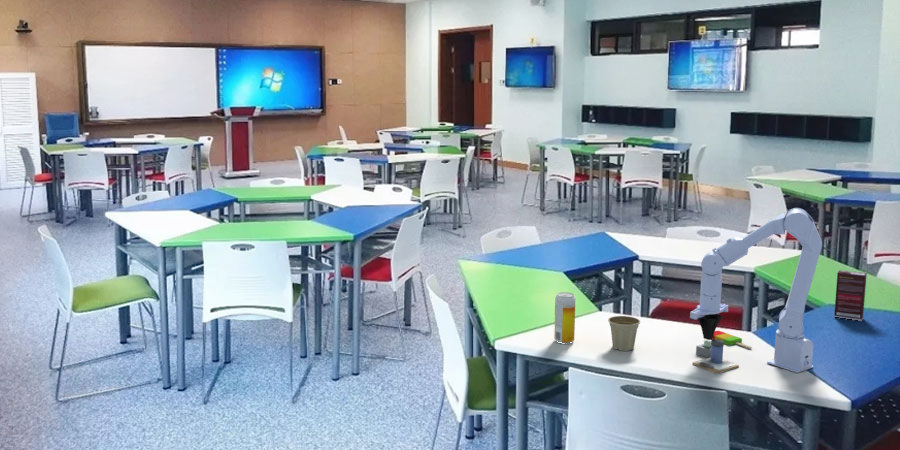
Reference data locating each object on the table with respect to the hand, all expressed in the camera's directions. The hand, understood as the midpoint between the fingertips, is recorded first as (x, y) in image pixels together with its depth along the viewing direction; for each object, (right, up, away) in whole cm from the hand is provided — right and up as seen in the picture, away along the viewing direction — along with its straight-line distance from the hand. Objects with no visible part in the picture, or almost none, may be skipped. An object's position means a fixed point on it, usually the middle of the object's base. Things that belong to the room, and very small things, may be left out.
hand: (707, 338), depth 225 cm
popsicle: (+11, -3, +11) cm, 16 cm away
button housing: (0, -5, +1) cm, 5 cm away
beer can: (-40, -3, +12) cm, 42 cm away
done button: (0, -3, +1) cm, 3 cm away
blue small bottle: (0, -5, -7) cm, 9 cm away
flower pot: (-23, -4, +7) cm, 25 cm away
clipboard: (-1, -6, -8) cm, 11 cm away
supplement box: (+59, +2, +35) cm, 69 cm away
